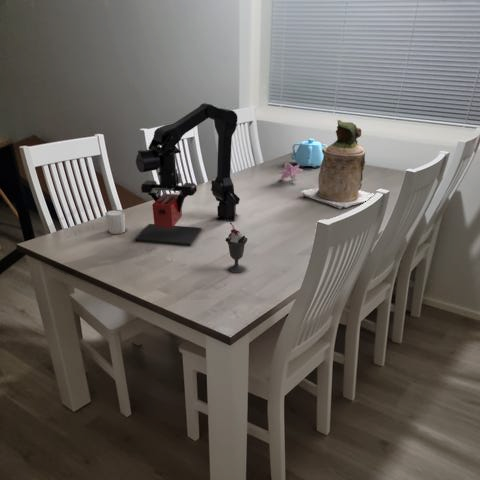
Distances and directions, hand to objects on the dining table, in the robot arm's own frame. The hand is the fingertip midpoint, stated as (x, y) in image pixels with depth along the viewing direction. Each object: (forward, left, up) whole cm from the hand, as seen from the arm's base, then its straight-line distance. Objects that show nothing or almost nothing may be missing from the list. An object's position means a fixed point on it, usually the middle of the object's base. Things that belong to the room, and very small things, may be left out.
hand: (170, 211), depth 171 cm
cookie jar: (-60, -54, -8) cm, 81 cm away
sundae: (-29, +26, -8) cm, 40 cm away
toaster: (0, +3, -3) cm, 4 cm away
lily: (-37, -74, -8) cm, 83 cm away
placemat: (0, +4, -8) cm, 9 cm away
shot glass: (+20, +3, -8) cm, 22 cm away
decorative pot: (-44, -108, -8) cm, 117 cm away
